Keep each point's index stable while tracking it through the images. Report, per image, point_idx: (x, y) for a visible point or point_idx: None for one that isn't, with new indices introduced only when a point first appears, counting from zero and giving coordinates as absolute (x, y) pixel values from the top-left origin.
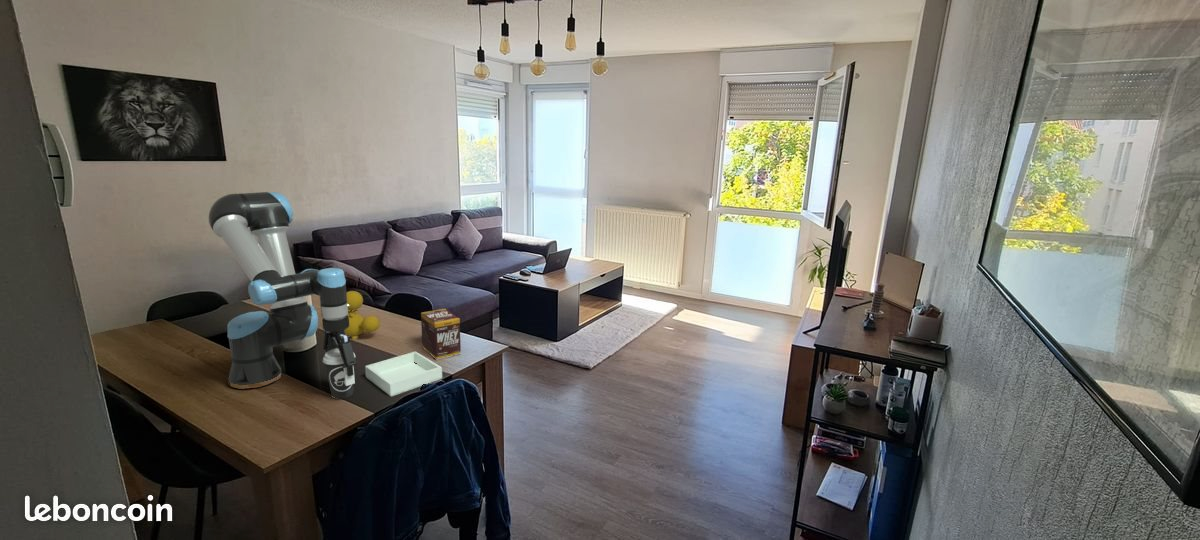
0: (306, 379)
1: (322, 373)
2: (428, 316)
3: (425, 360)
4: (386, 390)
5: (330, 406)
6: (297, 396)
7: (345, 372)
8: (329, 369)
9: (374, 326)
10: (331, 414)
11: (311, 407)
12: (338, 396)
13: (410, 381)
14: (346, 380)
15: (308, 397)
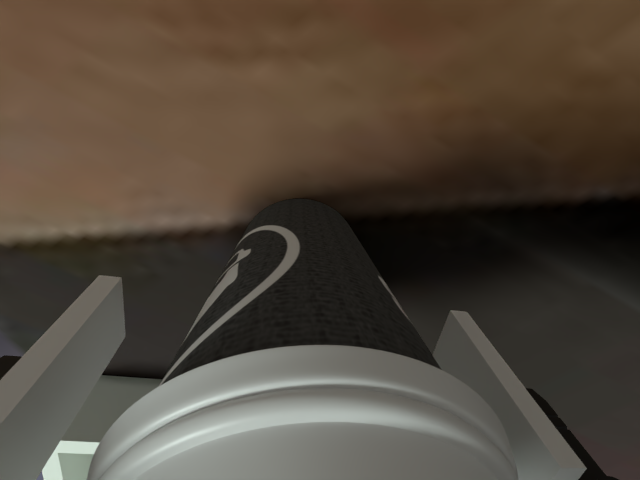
0: (630, 220)
1: (599, 301)
2: None
3: None
4: (125, 390)
5: (205, 132)
6: (506, 70)
7: (7, 379)
8: (261, 310)
9: None
10: (88, 76)
11: (287, 43)
12: (258, 217)
13: None
14: (71, 311)
15: (430, 109)
